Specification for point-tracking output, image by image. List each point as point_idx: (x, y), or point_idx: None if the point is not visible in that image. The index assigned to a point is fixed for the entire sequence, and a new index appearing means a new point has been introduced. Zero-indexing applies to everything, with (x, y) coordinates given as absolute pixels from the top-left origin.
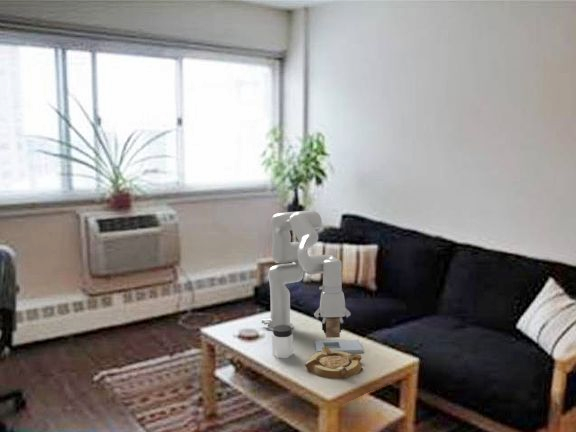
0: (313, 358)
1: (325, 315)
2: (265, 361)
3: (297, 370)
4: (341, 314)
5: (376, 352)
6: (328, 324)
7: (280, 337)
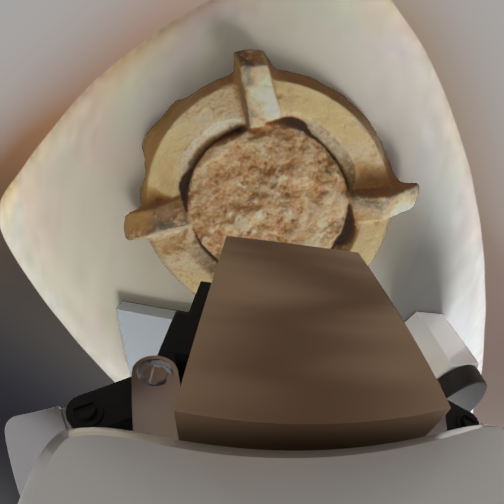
0: (365, 245)
1: (481, 455)
2: (477, 293)
3: (428, 199)
4: (107, 484)
5: (80, 296)
6: (387, 339)
7: (470, 363)
